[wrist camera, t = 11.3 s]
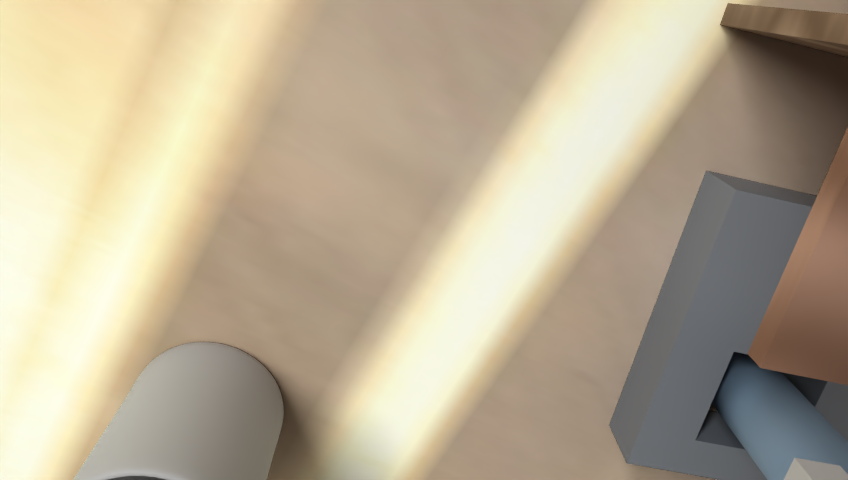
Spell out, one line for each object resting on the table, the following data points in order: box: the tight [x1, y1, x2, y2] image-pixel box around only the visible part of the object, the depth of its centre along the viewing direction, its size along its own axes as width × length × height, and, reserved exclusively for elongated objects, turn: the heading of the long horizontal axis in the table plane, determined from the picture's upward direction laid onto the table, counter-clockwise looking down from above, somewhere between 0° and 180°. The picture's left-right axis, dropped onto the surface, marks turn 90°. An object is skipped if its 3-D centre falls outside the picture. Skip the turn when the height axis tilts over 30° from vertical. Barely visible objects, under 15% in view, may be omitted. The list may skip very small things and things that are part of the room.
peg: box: [712, 352, 848, 480], centre depth 36 cm, size 4×4×12 cm
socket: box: [609, 171, 848, 480], centre depth 38 cm, size 16×12×4 cm
